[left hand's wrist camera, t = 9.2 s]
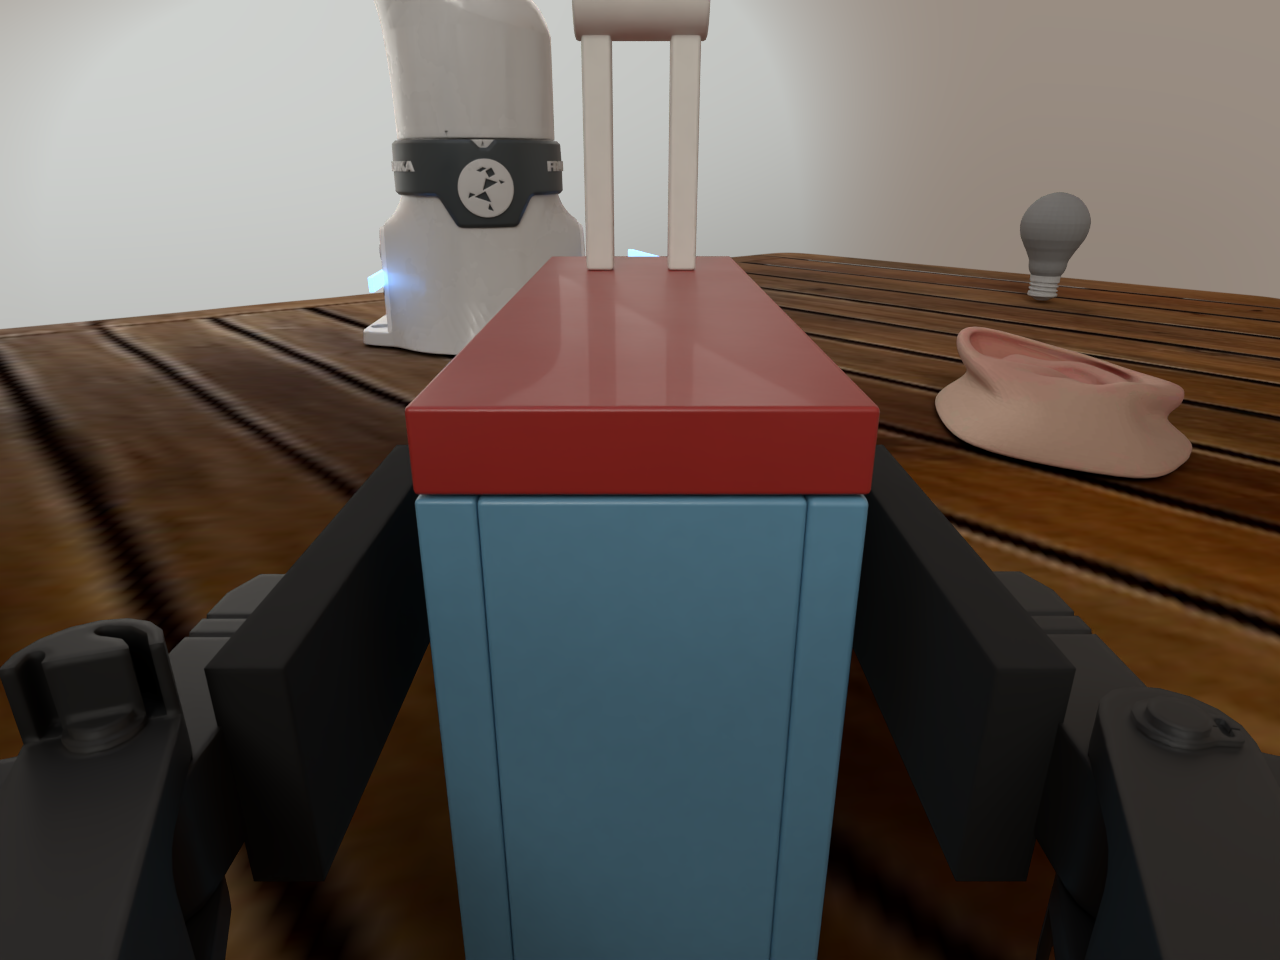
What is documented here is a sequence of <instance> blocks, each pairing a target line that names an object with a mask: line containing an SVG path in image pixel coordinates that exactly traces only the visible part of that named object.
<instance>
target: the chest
mask: <svg viewBox="0 0 1280 960" xmlns="http://www.w3.org/2000/svg"><path fill="white" fill-rule="evenodd" d="M868 505H869V504H868V501H867V499H866V498H865V496H864V495H863V494H420V495H419V496H418V498H417V499H416V501H415V509H416V518H417V527H418V536H419V545H420V554H421V563H422V572H423V581H424V590H425V599H426V608H427V617H428V626H429V635H430V643H431V652H432V661H433V670H434V679H435V688H436V697H437V706H438V715H439V724H440V733H441V742H442V751H443V760H444V769H445V778H446V787H447V796H448V805H449V814H450V823H451V832H452V840H453V849H454V858H455V867H456V876H457V885H458V894H459V903H460V912H461V921H462V930H463V939H464V948H465V957H466V960H817V955H818V946H819V937H820V928H821V919H822V911H823V902H824V893H825V884H826V875H827V867H828V858H829V849H830V840H831V831H832V822H833V814H834V805H835V796H836V787H837V778H838V770H839V761H840V752H841V743H842V734H843V725H844V717H845V708H846V699H847V690H848V681H849V673H850V664H851V655H852V646H853V637H854V628H855V620H856V611H857V602H858V593H859V584H860V576H861V567H862V558H863V549H864V540H865V531H866V523H867V514H868Z"/></svg>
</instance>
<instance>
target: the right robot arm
mask: <svg viewBox="0 0 1280 960" xmlns="http://www.w3.org/2000/svg"><path fill="white" fill-rule="evenodd" d="M374 3H375V6H376V8H377V12H378V15H379V19H380V23H381V27H382V32H383V38H384V43H385V49H386V55H387V61H388V67H389V74H390V80H391V88H392V95H393V103H394V112H395V121H396V130H397V139H398V140H397V141H394V142H393V143H392V153H393V161H392V171H394V178H395V188H396V192H397V193H398V194H400V195H401V199H400V202H399V205H398V207H397V209H396V211H395V212H394V214H393V215H392V216H391V217H390V218H389V219H388V220H387V221H386V222H385V225H384V226H382V227H381V228H380V257H381V260H382V270H380V271H379V272H377V273H375V274H373V275H372V276H370V277H368V283H369V291H370V292H375V291H377V290H378V289H380V288H381V287H382V286H384V296H385V305H386V315H385V316H383V317H382V318H380V319H379V320H377V321H376V322H374V323H373V324H371V325H370V326H369V327H367V328H366V329H364V331H363V333H364V343H365V344H369V345H379V346H393V347H400V348H404V349H408V350H413V351H418V352H425V353H435V354H450V355H457V354H458V353H459V352H460V351H461V350H462V349H463V348H464V347H465V346H466V345H467V344H468V343H469V342H470V341H471V340H472V339H473V338H474V337H475V336H476V334H477V333H478V332H479V331H480V330H481V329H482V328H483V327H484V326H485V325H486V324H487V323H488V322H489V321H490V320H491V319H492V318H493V317H494V316H495V315H496V314H497V313H498V312H499V311H500V310H501V309H502V308H503V307H504V306H505V305H506V303H507V302H508V301H509V300H510V299H511V298H512V297H513V296H514V295H515V294H516V293H517V292H518V291H519V290H520V289H521V288H522V287H523V286H524V285H525V284H526V283H527V282H528V281H529V280H530V279H531V278H532V277H533V276H534V275H535V274H536V272H537V271H538V270H539V269H540V268H541V267H542V266H543V265H544V264H545V263H546V262H547V261H548V260H549V259H550V258H551V257H553V256H585V247H584V233H583V227H582V225H581V224H580V223H578V222H577V220H576V219H575V218H574V217H572V216H571V215H570V214H569V213H568V212H567V211H566V209H565V208H564V206H563V205H562V203H561V201H560V198H559V196H558V194H559V193H561V191H562V190H563V189H562V171H563V162H562V161H561V152H560V144H559V143H558V142H556V141H554V117H553V89H552V62H551V37H550V33H549V30H548V27H547V24H546V21H545V19H544V17H543V15H542V13H541V12H540V10H539V8H538V7H537V6H536V4H535V3H534V2H533V1H532V0H374ZM628 256H656V255H652V254H648V253H645V252H640V251H637V250H633V249H628Z"/></svg>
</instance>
